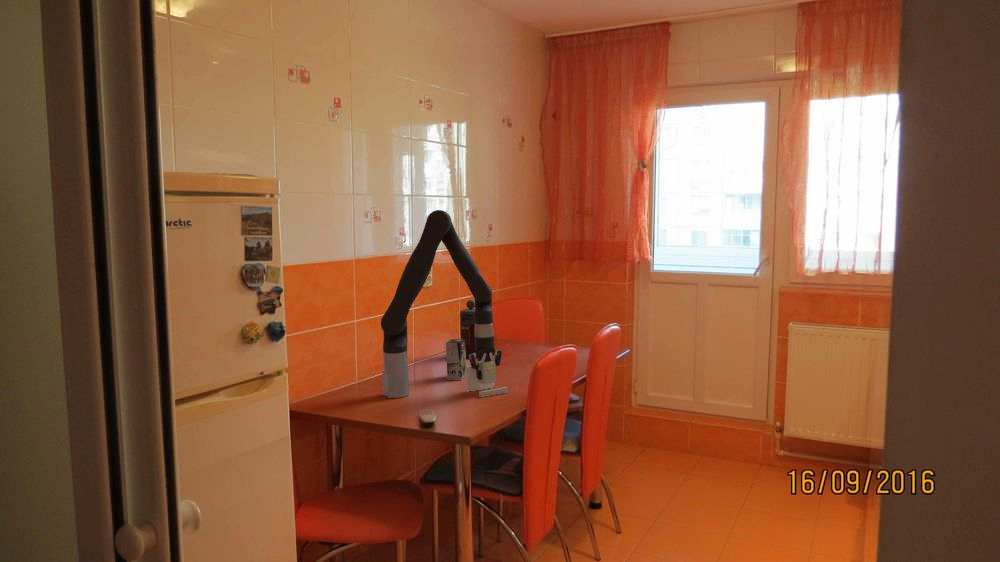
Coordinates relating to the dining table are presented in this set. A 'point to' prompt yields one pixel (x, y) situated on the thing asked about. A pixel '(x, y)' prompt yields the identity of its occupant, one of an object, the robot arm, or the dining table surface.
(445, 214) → the robot arm
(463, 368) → the coffee box
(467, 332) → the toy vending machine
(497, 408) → the dining table surface
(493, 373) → the cabinet block
